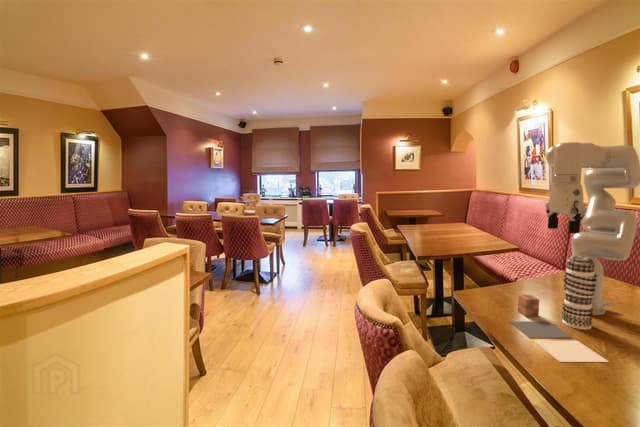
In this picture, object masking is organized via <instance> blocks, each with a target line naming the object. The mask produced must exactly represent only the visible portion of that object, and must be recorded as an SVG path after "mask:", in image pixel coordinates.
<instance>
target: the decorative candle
mask: <svg viewBox="0 0 640 427" xmlns="http://www.w3.org/2000/svg"><path fill="white" fill-rule="evenodd" d="M566 261H567V264H566V266H567V267H566V271H565V272H564V275H563V278H564V279H563V282H564V283H563V287H564V288H563V292H564V293H565V294H564V299H563V300H564V301H563V303H562V305H563V307H562V310H563V311H562V312H561V314H562V315H561V319H562V321H561V322H562V324H563V325H565V326H568V327H570V328H573V329H578V330H591V329H592V326H593V322H592V321H593V319H594V318H593V315H592V314H593V313H592V311H593V308H592V297H594V294H593V293H592V292H593V291H595V289H594V288H592V287H595V286H596V285H595V284H594V283H593V282H595V281H597V280H596V279H595V278H593V276H594V277H597V275H596V274H595V271H594V266H595V264H596V263H595V262H593V260H592V259H591V258H588V257H584V256H573V255H572V256H570V257H569V258H567V259H566Z"/></svg>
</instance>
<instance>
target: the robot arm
mask: <svg viewBox="0 0 640 427" xmlns="http://www.w3.org/2000/svg"><path fill="white" fill-rule="evenodd" d="M545 158H546V162H547V163H548V165H549V166H550V167H552V168H553V169H552V181H551V183H552V184H551V189H550V192H549V193H550V195H549V199H548V202H547V203H545V204H544V205H545V206H544V207H545V212H546V214H547V215H546V216H547V218H548V219H547V228H548V229H549V230H550V229H551V230H554V229H555V230H556V229H558V228H559V217H558V216H559V215H560V214H561V215H568V218H569V219H570V220H568V226H567V227H568V229H567V230H568V231H567V233H568V234H573V235H572V236H571V239H570V246H571V254H572V256H584V257H588V258H591V259H592V260H593V262H595V263H596V264H595V266H594V271H595V274H596V275H597V277H594V276H593V278H595V279H596V280H597V281H595V282H593V283H594V284H595V285H596V286H595V287H592V288H594V289H595V291H593V292H592V293H593V294H594V297H592V308H593V311H592V313H593V314H592V316H603V315H605V314H606V312H607V311H606V309H605V307H606V306H607V307H612V306H614V302H613V301H611V300H605V299H602V293H603V280H604V266H603V264H602V263H601V262H600V261H599V259H605V260H606V259H607V260H612V261H626V260H627V259H628V258H629V256H630V255H631V252H632V248H633V245H634V244H633V243H634V240H635V237H636V232H637V226H638V218H637V216H636V214H635V213H634V212H632V211H629V210H621V209H620V210H618V209H615V208H616V204H617V203H616V199H615V198H614V196H613V195H611V194H612V193H609V192H608V191H607V190H606V189H634V188H636V187H638V186H639V185H640V159H639V154H638V152H637V150H636V149H635V147H634V146H632V145H629V144H626V145H612V146H611V145H610V146H609V145H608V146H600V145H598V144H594V143H593V142H578V141H576V142H575V141H573V142H572V141H570V142H560V143H557V144H556V145H552V146H550V147H549V149H548V150H547V151H546V156H545ZM583 169H588V170H586V171H585V173H584V176H583V182H584V183H583V184H582V182H581V180H582V170H583ZM583 185H584V189H585V192H586V194H587V200H588V202H587V205H586V207H585V205H584V189H583ZM581 222H582V223H581ZM581 226H582V228H583V229H584V230H585V231H580V230H581Z"/></svg>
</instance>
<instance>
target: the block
mask: <svg viewBox="0 0 640 427" xmlns="http://www.w3.org/2000/svg"><path fill="white" fill-rule="evenodd" d="M517 295H518V296H517V298H518V300H517V312H518V313H519V314H521V315H522V316H523V317H525V318H529V317H530V318H537V317H539V314H540V312H539V311H540V299H539V298H538V297H536V296H534V295H532V294H517Z"/></svg>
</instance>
